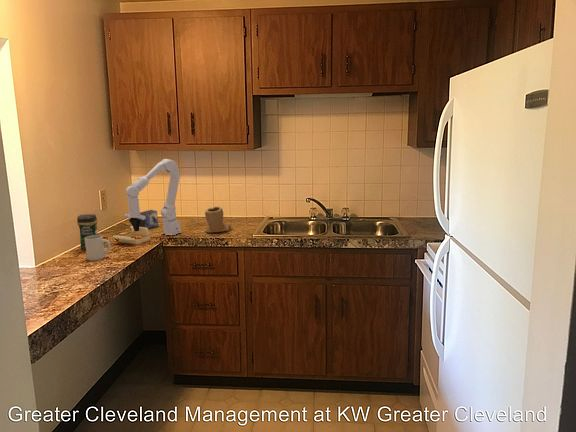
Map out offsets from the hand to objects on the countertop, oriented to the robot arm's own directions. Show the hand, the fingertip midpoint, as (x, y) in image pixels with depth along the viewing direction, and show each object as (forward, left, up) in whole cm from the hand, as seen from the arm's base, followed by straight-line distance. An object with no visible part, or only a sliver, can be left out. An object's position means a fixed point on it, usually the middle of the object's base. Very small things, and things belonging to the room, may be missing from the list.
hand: (136, 230), depth 258 cm
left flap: (0, +9, -1) cm, 9 cm away
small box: (+15, -23, -6) cm, 28 cm away
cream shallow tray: (0, +2, -5) cm, 6 cm away
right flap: (0, -2, 0) cm, 2 cm away
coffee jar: (+13, +21, -6) cm, 25 cm away
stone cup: (-33, -32, -6) cm, 46 cm away
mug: (-7, +31, -6) cm, 32 cm away
